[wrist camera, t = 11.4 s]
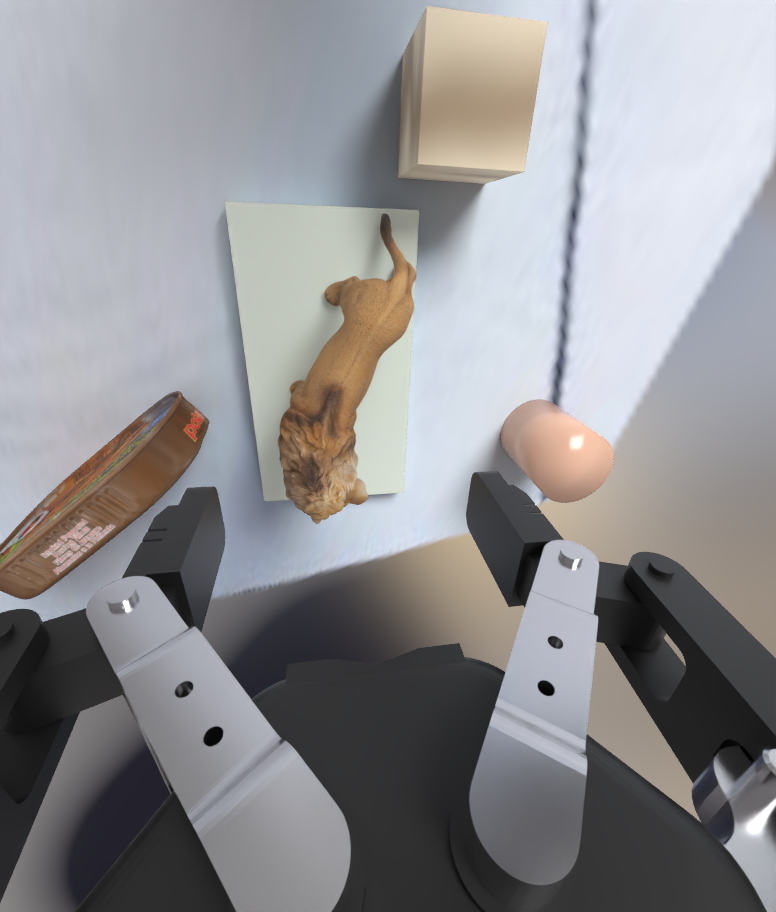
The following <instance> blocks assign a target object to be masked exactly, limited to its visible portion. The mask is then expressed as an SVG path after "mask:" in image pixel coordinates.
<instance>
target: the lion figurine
mask: <svg viewBox="0 0 776 912" xmlns="http://www.w3.org/2000/svg"><path fill="white" fill-rule="evenodd" d="M391 232H392V228H391V221H390V218H389V216H388V214H385V213H383V214H382V217H381V223H380V234H381V237H382V239H383V242H384V245H385V246H386V248H387V250H388V252H389V254H390V256H391V258H392V261H393V263H394V268H393V270H392V273H391V278H389V279H388V280H387V281H385V280H383V279H378V278H371V279H365V280H359V278H358V277H357V276H352V277H350V278H348V279H346V280H344V281H338V282H335V283H333V284H331V285H330V286H328V287H327V289H326V290H325V299H326V301H327V302H328V303H330V304H331V305H334V306H337V307H338V306H340V307H341V309H342V312H343V315H344V322H343V324H342V325H341V327H340V328H339V330H338V331H337V332H336V333H335V334H334V335H333V336H332V337H331V338H330V339H329V340H328V342H327V343H326V344H325V345H324V347H323V348H322V350H321V352H320V353H319V356H318V358H317V359H316V361H315V362H314V364H313V366H312V367H311V369H310V371H309V373H308V375H307V378H306V380H305V381H303V380H299V381H296V382H294V383H293V384H291V386H290V392H291V395H292V396H291V398H290V407H289V409H288V410H287V411H286V412H285V413H284V415H283V416H282V418H281V422H280V435H279V437H278V446H279V452H280V458H279V459H280V463H281V466H282V468H283V475H284V479H283V480H284V485H285V488H286V497H287V498H288V499H289V500H292V501H294V504H295V506H296V507H297V508H298V509H300V510H302V511H303V512H304V513H306V514H308V515H309V516H311V518H312V520H313V522H315V523H316V524H318V523H319V522H320V521H321V520H322V519H323V520H325V519H327V518H328V517H329V515H333V514H336V513H337V512H340V511H341V510H342V509H343V507H345V506H346V505H347V504H348V503H352V504H357V505H359V504H362V503H364V502H365V501H366V500H367V499H368V493H367V491H366V485H365V483H364V482H363V481H362V480H360V479H358V478H357V471H356V467H357V464H358V456H357V454H356V453H355V451H354V448H355V443H356V434H355V431H354V429H353V427H354V424H355V422H356V419H357V413H356V409H357V408H358V406H359V405H360V403H361V401H362V400H363V398H364V396H365V395H366V393H367V390H368V388H369V386H370V383H371V381H372V378H373V375H374V372H375V369H376V366H377V363H378V361H379V359H380V357H381V355H382V354H383V353H384V352H385V351H386V350H387V349H388V348H389V347H391V346H392V345H393V344H394V343H395V342H396V341H398V340H399V339H400V338H401V337H402V336H403V335H404V333H405V331H406V329H407V327H408V324H409V322H410V319H411V317H412V314H413V310H414V301H413V298H412V292H411V291H412V286H413V283H414V281H415V279H416V271H415V269H414V268H413V267H412V265H411V264H410V263H409V262H407V261H406V260H405V258H404V256H403V254H402V252H401V251H400V250H399V249H398V247H397V246H396V244H395V242H394V239H393V237H392V234H391Z"/></svg>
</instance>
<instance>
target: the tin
mask: <svg viewBox="0 0 776 912" xmlns="http://www.w3.org/2000/svg"><path fill="white" fill-rule="evenodd" d="M208 424H209V420H208V419H207V418H206V417H205V416H204V415H203V414H202V413H201V412H200V411H199V410H197V409H196V408H195V407H194V406H193V405H192V404H191V403H189V402H188V401H187V400H186V399H185V398H184V397H183V396H182V393H181V392H179V391H176V392H173V393H171V394H169V395H167V396H165V397H164V398H162V399H161V400H160V401H158V402H157V403H156V404H154V405H153V406H152V407H151V408H149V409H148V410H147V411H146V412H144V413H143V414H142V415H141V416H140V417H138V418H137V419H136V420H135V421H134V422H133V423H131V424H130V425H129V426H128V427H127V428H126V429H124V430H123V431H122V432H121V433H120V434H118V435H117V436H116V437H115V438H114V439H113V440H111V441H110V442H109V443H108V444H107V445H105V446H104V447H103V448H102V449H101V450H99V451H98V452H97V453H96V454H95V455H94V456H92V457H91V458H90V459H89V460H88V461H86V462H85V463H84V464H83V465H82V466H80V467H79V468H78V469H77V470H76V471H75V472H73V473H72V474H71V475H70V476H69V477H67V478H66V479H65V480H64V481H63V482H62V483H61V484H60V485H59V486H58V487H57V488H56V489H54V490H53V491H52V492H51V493H50V494H49V495H48V496H47V497H46V498H45V499H44V500H43V501H42V502H41V503H40V504H39V505H38V506H37V507H36V508H34V510H33V511H32V512H31V513H30V514H29V515H28V516H27V517H26V518H25V519H24V520H23V521H22V522H21V523H20V524H19V525H18V526H17V527H16V529H15V530H14V531H13V532H12V533H11V534H10V535H9V537H8V538H7V539H6V540H5V541H4V542H3V543H2V544H1V545H0V591H2V592H5V593H7V594H9V595H12V596H14V597H17V598H20V599H31V598H33V597H36V596H38V595H40V594H41V593H43V592H45V591H46V590H47V589H49V588H50V587H51V586H53V585H54V584H55V583H57V582H58V581H59V580H60V579H62V578H63V577H64V576H66V575H67V574H68V573H70V572H71V571H72V570H73V569H75V568H76V567H77V566H78V565H80V564H81V563H82V562H84V561H85V560H86V559H87V558H89V557H90V556H91V555H93V554H94V553H95V552H96V551H97V550H99V549H100V548H101V547H102V546H104V545H105V544H106V543H107V542H109V541H110V540H111V539H112V538H114V537H115V536H116V535H117V534H119V533H120V532H121V531H122V530H124V529H125V528H126V527H127V526H128V525H130V524H131V523H132V522H133V521H135V520H136V519H137V518H138V517H139V516H141V515H142V514H143V513H144V512H146V511H147V510H148V509H149V508H150V507H151V506H152V505H153V504H155V503H156V502H157V501H158V500H159V499H160V498H161V497H162V496H163V495H164V494H165V493H166V492H167V491H168V490H169V489H170V488H171V487H172V486H173V485H174V484H175V482H176V481H177V480H178V479H179V478H180V477H181V475H182V474H183V473H184V472H185V471H186V469H187V468H188V467H189V465H190V464H191V463H192V461H193V460H194V458H195V457H196V455H197V454H198V452H199V450H200V448H201V444H202V441H203V438H204V436H205V434H206V431H207V429H208Z"/></svg>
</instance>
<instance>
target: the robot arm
mask: <svg viewBox="0 0 776 912" xmlns="http://www.w3.org/2000/svg"><path fill="white" fill-rule="evenodd" d="M466 519H467V525H468V528H469V531H470V533H471V535H472V537H473V539H474V540H475V542H476V544H477V546H478V548H479V550H480V552H481V554H482V556H483V558H484V560H485V562H486V564H487V566H488V567H489V569H490V571H491V573H492V575H493V577H494V579H495V581H496V583H497V585H498V587H499V589H500V591H501V592H502V595H503V596H504V598H505V600H506V602H507V604H508V606H509V607H512V606H520V605H524V607H525V610H524V613H523V616H522V620H521V623H520V626H519V630H518V633H517V636H516V639H515V643H514V646H513V649H512V653H511V656H510V660H509V662H508V666H507V669H506V672H504V671H502V670H501V669H499V668H497V667H495V666H493V665H491V664H489V663H486V662H483V661H480V660H476V659H472V658H467V657H464V655H463V652H462V650H461V647H460V644H459V643H458V644H449V645H441V646H433V647H426V648H418V649H416V650H413V651H411V652H408V653H405V654H403V655H400V656H398V657H395V658H393V659H390V660H387V661H385V662H382V663H379V664H371V663H361V662H353V661H345V660H335V659H327V660H319V661H311V662H302V663H294V664H287V676H286V680H283V681H280V682H278V683H276V684H274V685H272V686H270V687H268V688H267V689H265V690H264V691H262V692H260V693H259V694H257V695H256V696H255V697H254V698H252V699H250V697H249V696H248V695H247V694H246V692H245V691H244V689H243V688H242V687H241V685H240V684H239V683H238V681H237V680H236V679H235V677H234V676H233V675H232V674H231V672H230V671H229V670H228V668H227V667H226V665H225V664H224V663H223V661H222V660H221V659H220V657H219V656H218V655H217V653H216V652H215V651H214V649H213V648H212V647H211V646H210V644H209V643H208V641H207V640H206V639H205V637H204V636H203V635H202V633H201V631H202V627H203V624H204V620H205V616H206V613H207V609H208V605H209V602H210V598H211V594H212V591H213V587H214V584H215V580H216V576H217V573H218V569H219V565H220V562H221V558H222V554H223V551H224V546H225V528H224V523H223V518H222V513H221V507H220V502H219V497H218V493H217V489H216V488H215V487H196V488H187V489H186V491H185V493H184V495H183V497H182V499H181V502H180V504H179V505H174V506H168V507H167V508H165V509H164V510H163V511H162V512H161V513H159V514H158V515H157V516H156V517H155V518H154V520H153V522H152V524H151V525H150V527H149V529H148V532H147V533H146V535H145V536H144V538H143V543H141V544H140V546H139V548H138V549H137V551H136V553H135V555H134V557H133V559H132V560H131V562H130V564H129V566H128V568H127V570H126V572H125V573H124V575H123V577H122V579H119V580H117V581H114V582H112V583H110V584H108V585H107V586H105V587H103V588H102V589H101V590H99V591H98V592H97V593H96V594H95V595H94V596H93V597H92V598H91V600H90V601H89V603H88V605H87V608H85V609H83V610H80V611H77V612H74V613H71V614H67V615H64V616H61V617H58V618H54V619H51V620H48V621H45V622H42V620H41V618H40V616H39V615H38V614H37V613H36V612H35V611H33V610H29V609H16V610H10V611H6V612H3V613H0V902H1V900H2V897H3V895H4V892H5V890H6V888H7V885H8V883H9V880H10V878H11V876H12V873H13V871H14V868H15V866H16V863H17V861H18V859H19V856H20V854H21V852H22V849H23V847H24V844H25V842H26V840H27V837H28V835H29V832H30V830H31V828H32V825H33V823H34V820H35V818H36V816H37V813H38V811H39V808H40V806H41V804H42V801H43V799H44V796H45V794H46V792H47V789H48V787H49V784H50V782H51V780H52V777H53V775H54V772H55V770H56V768H57V765H58V763H59V760H60V758H61V756H62V753H63V751H64V748H65V746H66V744H67V741H68V738H69V736H70V734H71V732H72V729H73V727H74V724H75V722H76V720H77V717H78V715H79V713H80V711H83V710H85V709H88V708H90V707H93V706H95V705H98V704H100V703H103V702H105V701H108V700H110V699H113V698H115V697H118V696H120V695H123V696H124V698H125V700H126V702H127V704H128V706H129V708H130V711H131V713H132V715H133V717H134V719H135V720H136V723H137V725H138V727H139V729H140V731H141V733H142V735H143V737H144V739H145V741H146V743H147V745H148V747H149V749H150V751H151V753H152V755H153V757H154V759H155V762H156V763H157V766H158V768H159V770H160V772H161V774H162V776H163V778H164V781H165V783H166V785H167V787H168V789H169V791H170V793H171V794H170V796H169V797H168V798H167V799H166V800H165V801H164V803H163V804H162V805H161V806H160V808H159V809H158V810H157V811H156V813H155V814H154V815H153V816H152V817H151V819H150V820H149V821H148V822H147V823H146V825H145V826H144V827H143V828H142V830H141V831H140V832H139V833H138V835H137V836H136V837H135V838H134V839H133V841H132V842H131V843H130V844H129V846H128V847H127V848H126V849H125V850H124V852H123V853H122V854H121V855H120V857H119V858H118V859H117V860H116V861H115V863H114V864H113V865H112V866H111V867H110V869H109V870H108V871H107V872H106V874H105V875H104V876H103V877H102V879H101V880H100V881H99V882H98V883H97V885H96V886H95V887H94V888H93V890H92V891H91V892H90V893H89V894H88V896H87V897H86V898H85V899H84V901H83V902H82V903H81V904H80V905H79V907H78V908H77V909H76V910H75V912H776V658H775V657H773V655H771V653H770V652H769V651H768V650H767V649H765V647H763V646H762V644H760V643H759V642H758V641H757V640H756V639H755V638H754V637H753V636H752V635H751V634H750V633H749V632H748V631H747V630H746V629H745V628H744V627H743V626H742V625H741V624H740V623H739V622H738V621H737V620H736V619H735V618H734V617H733V616H732V615H731V614H730V613H729V612H728V611H727V610H726V609H725V608H724V607H723V606H722V605H721V604H720V603H719V602H718V601H717V600H716V599H715V598H714V597H713V596H712V595H711V594H710V593H709V592H708V591H707V590H706V589H705V588H704V587H703V586H702V585H701V584H700V583H699V582H698V581H697V580H696V579H695V578H694V577H693V576H692V575H691V574H690V573H689V572H688V571H687V570H686V569H685V568H684V567H683V566H681V565H680V564H678V563H677V562H675V561H673V560H672V559H670V558H668V557H665V556H663V555H660V554H656V553H651V552H639V553H636V554H634V555H633V556H632V558H631V560H630V562H629V565H628V566H625V565H618V564H612V563H605V562H599V561H598V559H597V557H596V556H595V555H594V554H593V553H592V552H591V551H590V550H589V549H587V548H586V547H584V546H582V545H580V544H578V543H575V542H572V541H567V540H564V539H563V538H562V537H561V536H560V535H559V533H558V532H557V531H556V529H554V527H553V526H552V524H551V523H550V522H549V521H548V519H547V518H546V517H545V516H544V515H543V514H541V511H540V510H539V508H538V507H537V506H535V503H534V502H533V501H532V500H531V498H530V497H529V496H528V495H527V493H525V492H523V491H522V490H520V489H519V488H517V487H516V486H514V485H508V484H507V483H506V481H505V480H504V479H503V478H502V476H501V475H500V474H499V472H497V471H492V472H475V473H474V474H473V475H472V478H471V484H470V491H469V498H468V504H467V511H466ZM666 633H667V634H668V636H669V637H670V638H671V639H672V641H673V642H674V643H675V644H676V646H677V647H678V648H679V649H680V651H681V652H682V654H683V656H684V659H685V663H686V666H685V665H684V664H683V662H682V661H681V660H680V659H679V657H678V656H677V655H676V654H675V652H674V651H673V650H672V648H671V647H670V646H669V645H668V643H667V642H666V641H665V639H664V636H665V635H666ZM596 642H602V643H605V645H606V646H607V648H608V650H609V651H610V653H611V654H612V656H613V657H614V659H615V661H616V662H617V664H618V665H619V667H620V669H621V670H622V672H623V673H624V675H625V676H626V678H627V680H628V681H629V683H630V684H631V686H632V687H633V689H634V691H635V692H636V694H637V695H638V697H639V698H640V700H641V702H642V703H643V705H644V706H645V708H646V709H647V711H648V713H649V714H650V716H651V717H652V719H653V720H654V722H655V724H656V725H657V727H658V728H659V730H660V732H661V733H662V735H663V736H664V738H665V739H666V741H667V743H668V744H669V746H670V747H671V749H672V751H673V752H674V754H675V755H676V757H677V758H678V760H679V761H680V763H681V765H682V766H683V768H684V770H685V771H686V773H687V774H688V776H689V777H690V779H691V781H692V782H693V787H692V800H693V805H694V807H695V810H696V813H697V814H698V817H699V819H700V821H701V822H700V821H698V820H697V819H696V818H694V816H692V815H691V814H690V813H688V812H687V811H686V810H685V809H683V808H682V807H681V806H679V805H678V804H677V803H676V802H674V801H673V800H672V799H670V798H669V797H668V796H666V795H665V794H664V793H663V792H661V791H660V790H659V789H657V788H656V787H655V786H653V785H652V784H651V783H650V782H648V781H647V780H646V779H644V778H643V777H642V776H640V775H639V774H638V773H637V772H635V771H634V770H633V769H631V768H630V767H629V766H628V765H626V764H625V763H624V762H622V761H621V760H620V759H618V758H617V757H616V756H614V755H613V754H612V753H611V752H609V751H608V750H606V749H605V748H604V747H603V746H602V745H600V744H599V743H597V742H596V741H595V740H594V739H592V738H591V737H590V736H589V735H587V724H588V715H589V705H590V696H591V686H592V676H593V667H594V657H595V647H596Z"/></svg>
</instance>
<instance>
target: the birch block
mask: <svg viewBox="0 0 776 912" xmlns="http://www.w3.org/2000/svg"><path fill="white" fill-rule="evenodd" d="M547 24H548V22H542V21H535V20H528V19H520V18H513V17H506V16H498V15H491V14H483V13H476V12H469V11H461V10H454V9H447V8H439V7H432V6H427V7H426V9H425V11H424V13H423V15H422V17H421V19H420V21H419V23H418V25H417V27H416V29H415V31H414V33H413V35H412V37H411V39H410V41H409V43H408V45H407V47H406V49H405V51H404V53H403V59H402V84H401V108H400V133H399V158H398V178H407V179H421V180H436V181H451V182H466V183H481V184H486V183H489V182H492V181H496V180H499V179H502V178H505V177H509V176H512V175H515V174H518V173H522V172H524V170H525V163H526V157H527V151H528V144H529V138H530V132H531V125H532V119H533V113H534V106H535V100H536V94H537V87H538V81H539V75H540V68H541V62H542V55H543V49H544V43H545V36H546V30H547Z"/></svg>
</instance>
